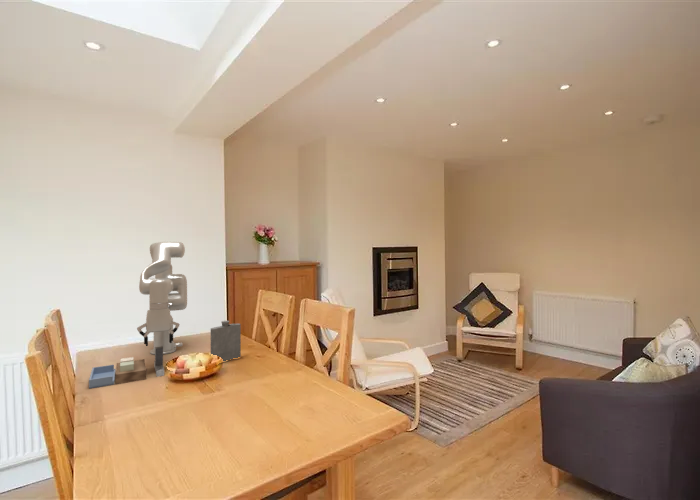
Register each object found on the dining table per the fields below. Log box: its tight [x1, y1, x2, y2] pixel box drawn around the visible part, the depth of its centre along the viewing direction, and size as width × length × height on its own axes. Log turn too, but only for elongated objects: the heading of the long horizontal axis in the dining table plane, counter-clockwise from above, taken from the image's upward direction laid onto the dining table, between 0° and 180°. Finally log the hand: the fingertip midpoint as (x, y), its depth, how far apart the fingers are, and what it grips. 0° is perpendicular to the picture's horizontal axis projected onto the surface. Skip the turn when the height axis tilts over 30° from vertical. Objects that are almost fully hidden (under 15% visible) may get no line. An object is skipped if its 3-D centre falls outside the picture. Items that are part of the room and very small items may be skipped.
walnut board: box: [115, 358, 147, 385], centre depth 159 cm, size 11×18×4 cm, turn 32°
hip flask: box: [210, 320, 242, 361], centre depth 180 cm, size 16×4×20 cm, turn 139°
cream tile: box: [119, 356, 135, 363], centre depth 162 cm, size 5×5×2 cm
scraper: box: [153, 346, 165, 378], centre depth 165 cm, size 3×16×11 cm, turn 32°
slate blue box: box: [88, 364, 116, 389], centre depth 154 cm, size 8×18×4 cm, turn 32°
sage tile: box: [119, 360, 135, 372], centre depth 156 cm, size 5×5×2 cm
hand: (158, 344), depth 165 cm, fingers open, 9 cm apart
